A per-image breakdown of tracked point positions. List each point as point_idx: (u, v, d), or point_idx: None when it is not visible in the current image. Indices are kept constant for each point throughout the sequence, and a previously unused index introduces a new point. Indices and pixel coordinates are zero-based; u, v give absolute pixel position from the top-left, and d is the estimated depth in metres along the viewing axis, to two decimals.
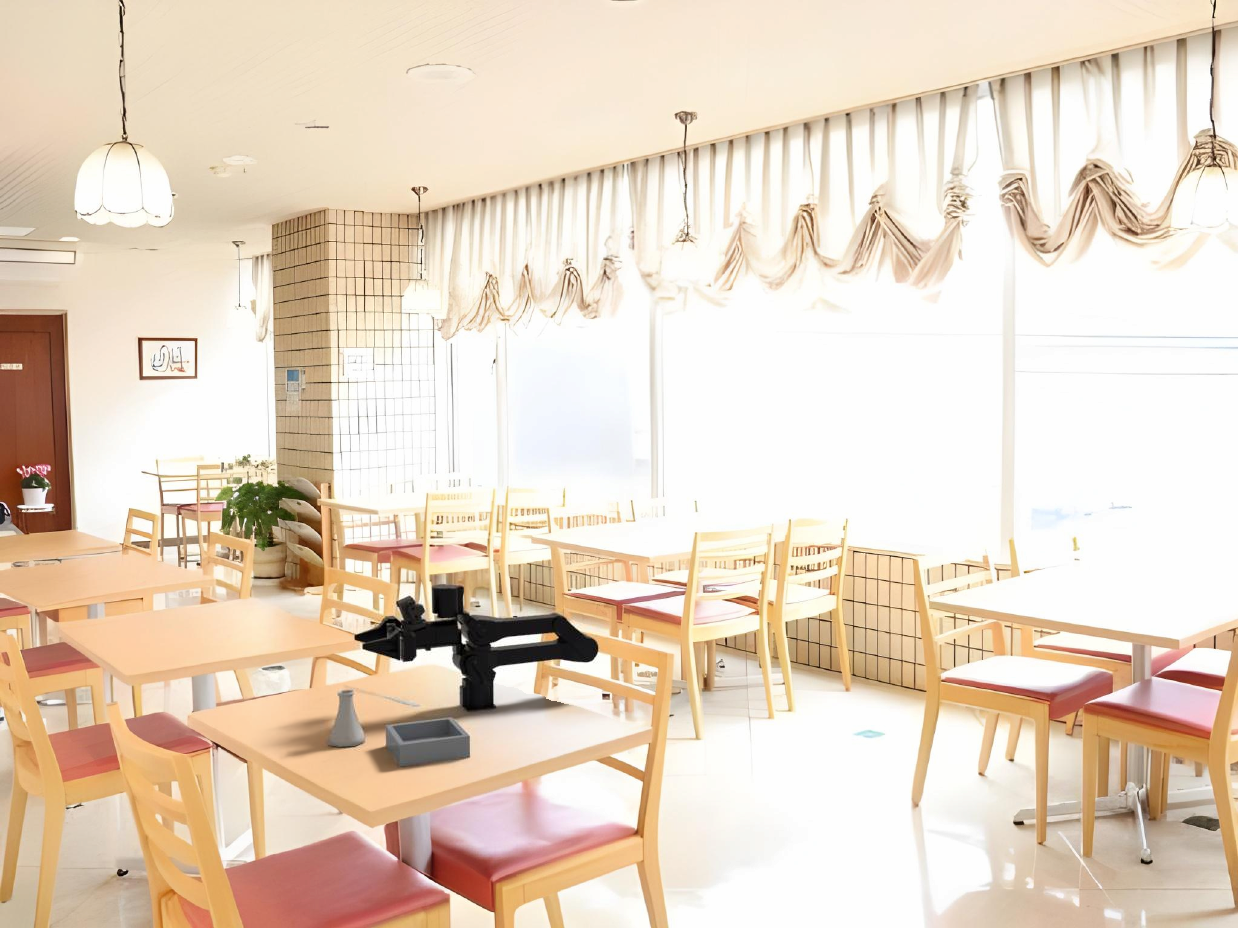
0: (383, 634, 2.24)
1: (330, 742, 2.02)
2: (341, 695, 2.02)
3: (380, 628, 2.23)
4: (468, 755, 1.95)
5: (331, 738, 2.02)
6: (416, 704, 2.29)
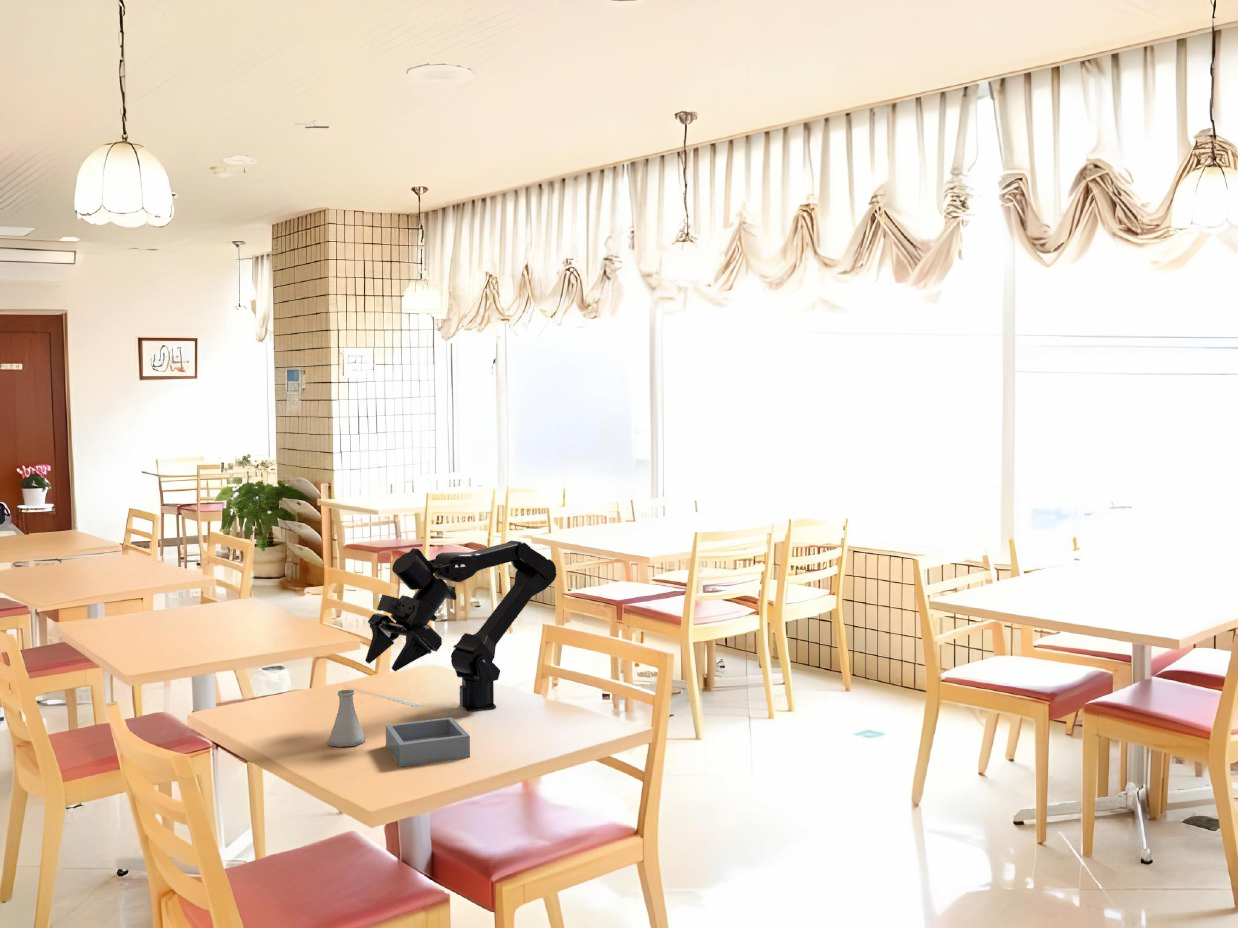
0: (384, 637, 2.16)
1: (330, 742, 2.02)
2: (341, 695, 2.02)
3: (378, 635, 2.14)
4: (468, 755, 1.95)
5: (331, 738, 2.02)
6: (416, 704, 2.29)
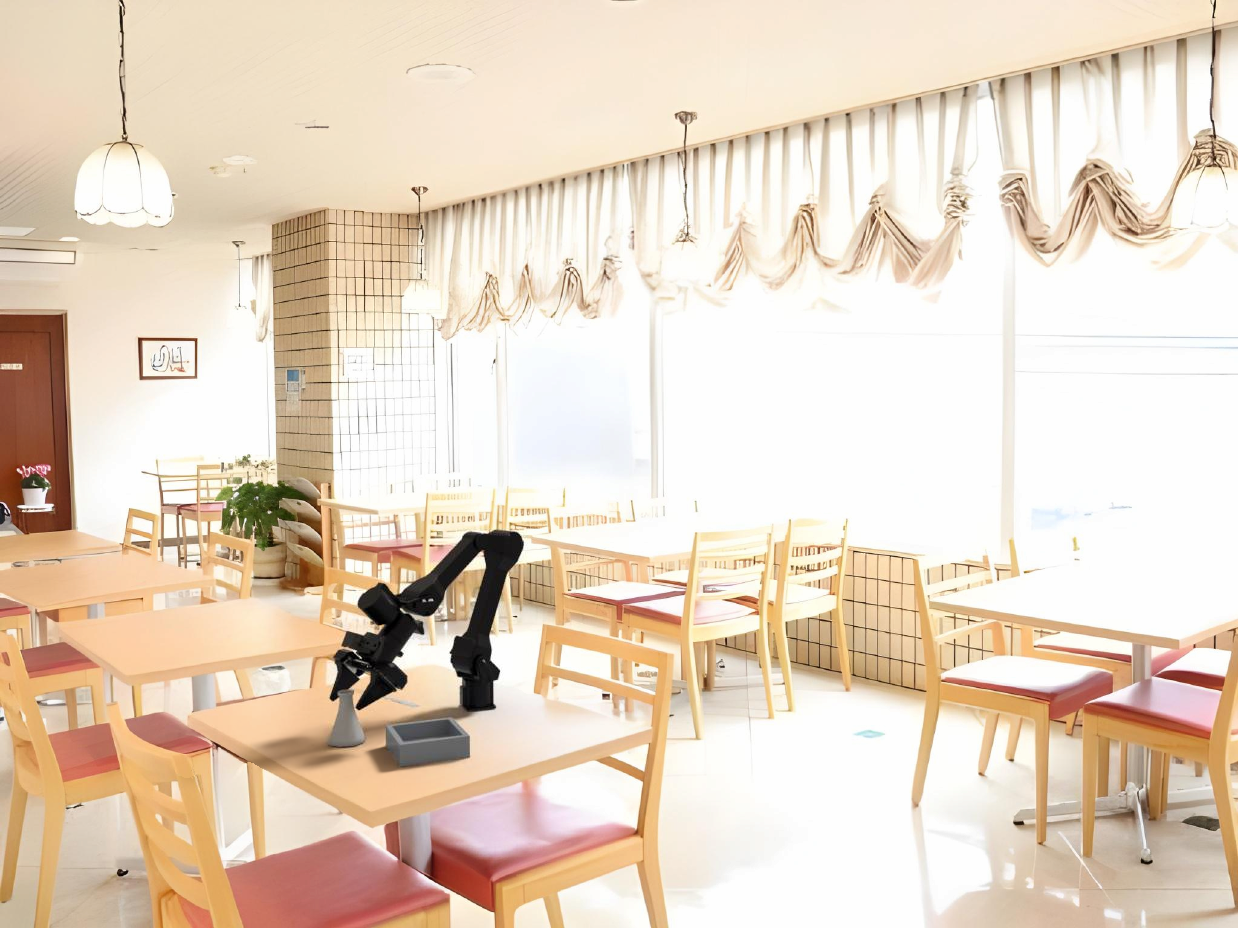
0: (349, 673, 2.10)
1: (330, 742, 2.02)
2: (341, 695, 2.02)
3: (343, 672, 2.09)
4: (468, 755, 1.95)
5: (331, 738, 2.02)
6: (415, 704, 2.29)
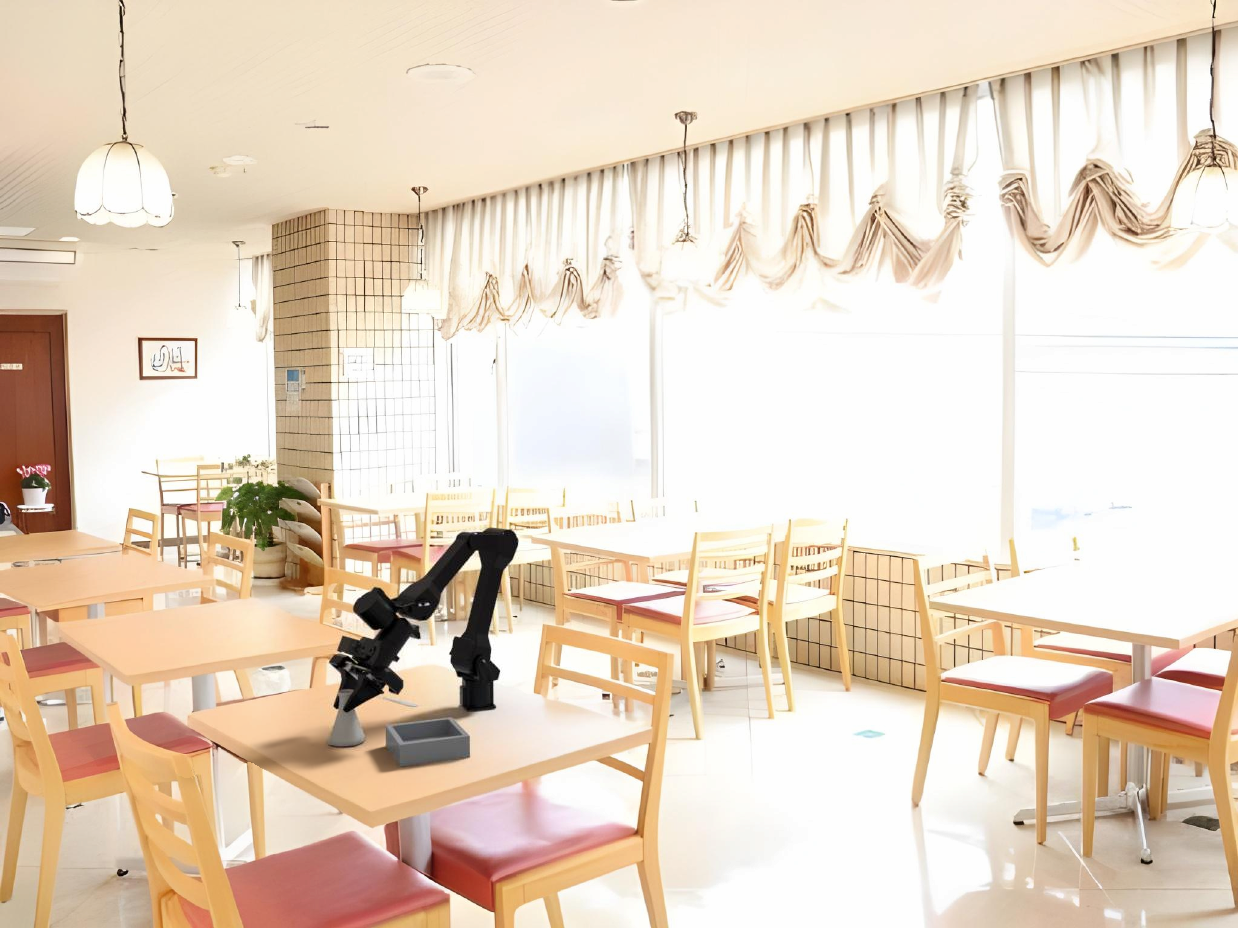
0: (353, 681, 2.07)
1: (330, 742, 2.02)
2: (341, 695, 2.02)
3: (347, 680, 2.06)
4: (468, 755, 1.95)
5: (331, 738, 2.02)
6: (414, 704, 2.29)
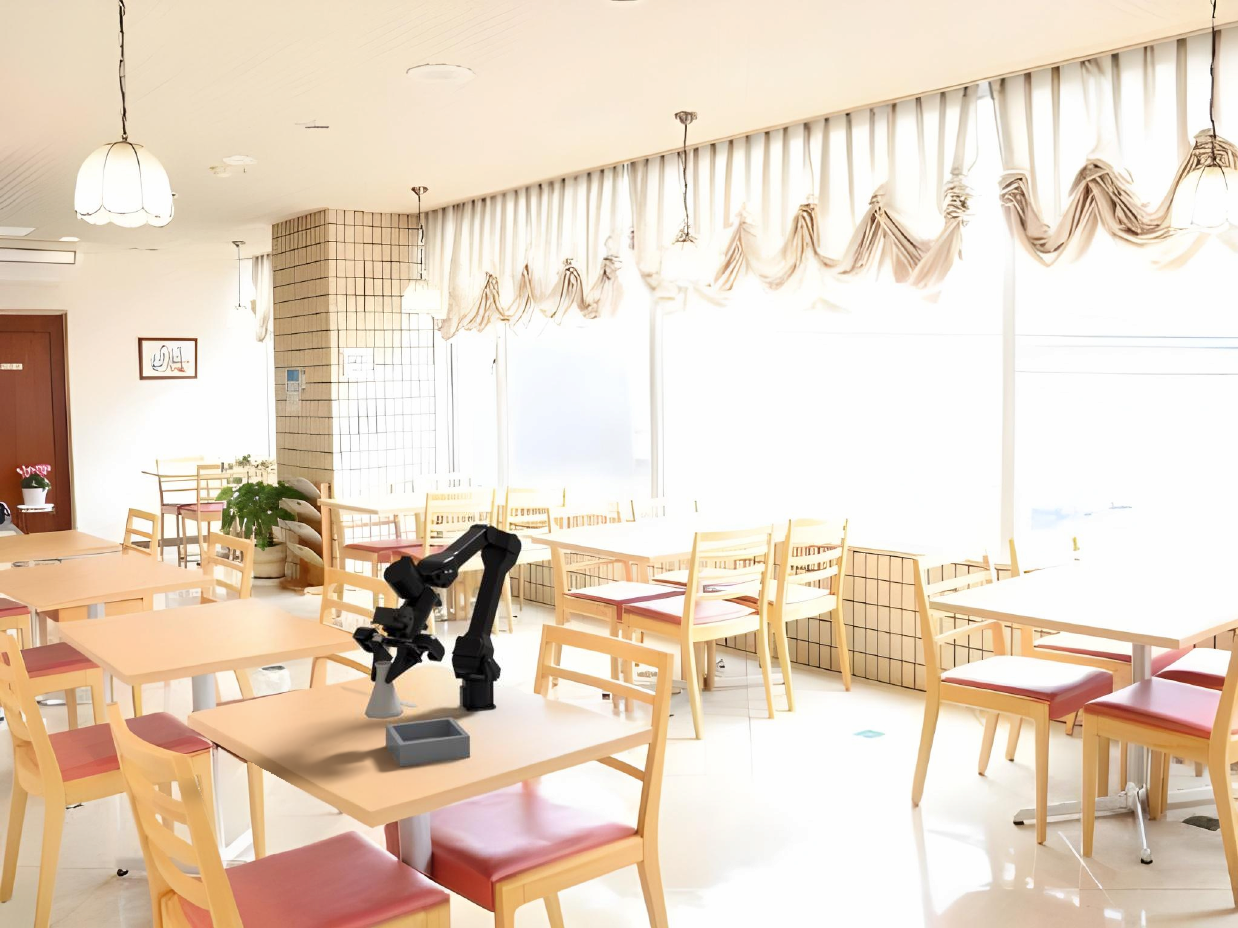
0: (385, 652, 2.03)
1: (371, 715, 1.97)
2: (381, 666, 1.98)
3: (380, 651, 2.01)
4: (468, 755, 1.95)
5: (372, 711, 1.97)
6: (413, 705, 2.29)
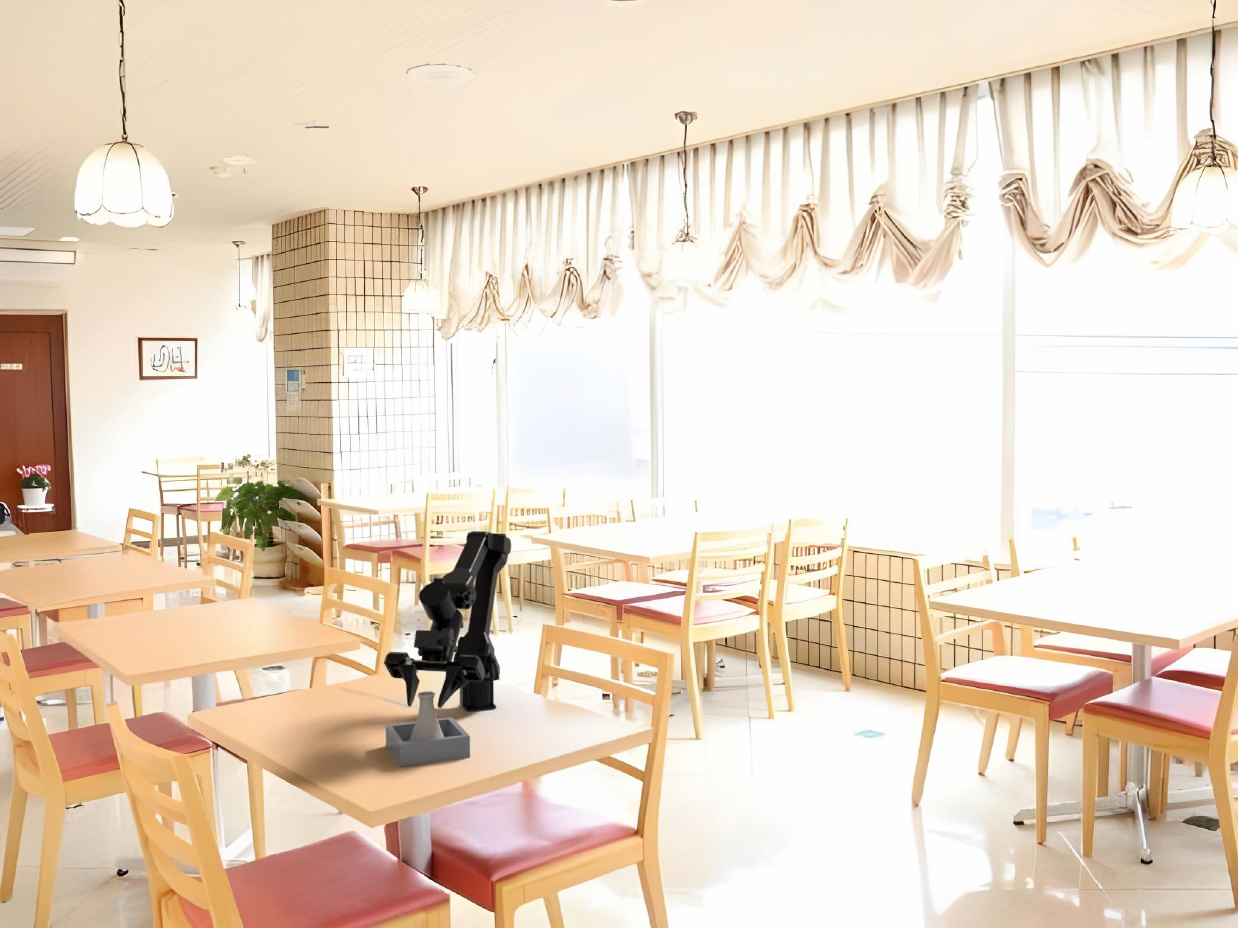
0: (415, 676, 2.01)
1: None
2: (426, 697, 1.96)
3: (412, 675, 2.00)
4: (468, 755, 1.95)
5: None
6: (412, 705, 2.29)
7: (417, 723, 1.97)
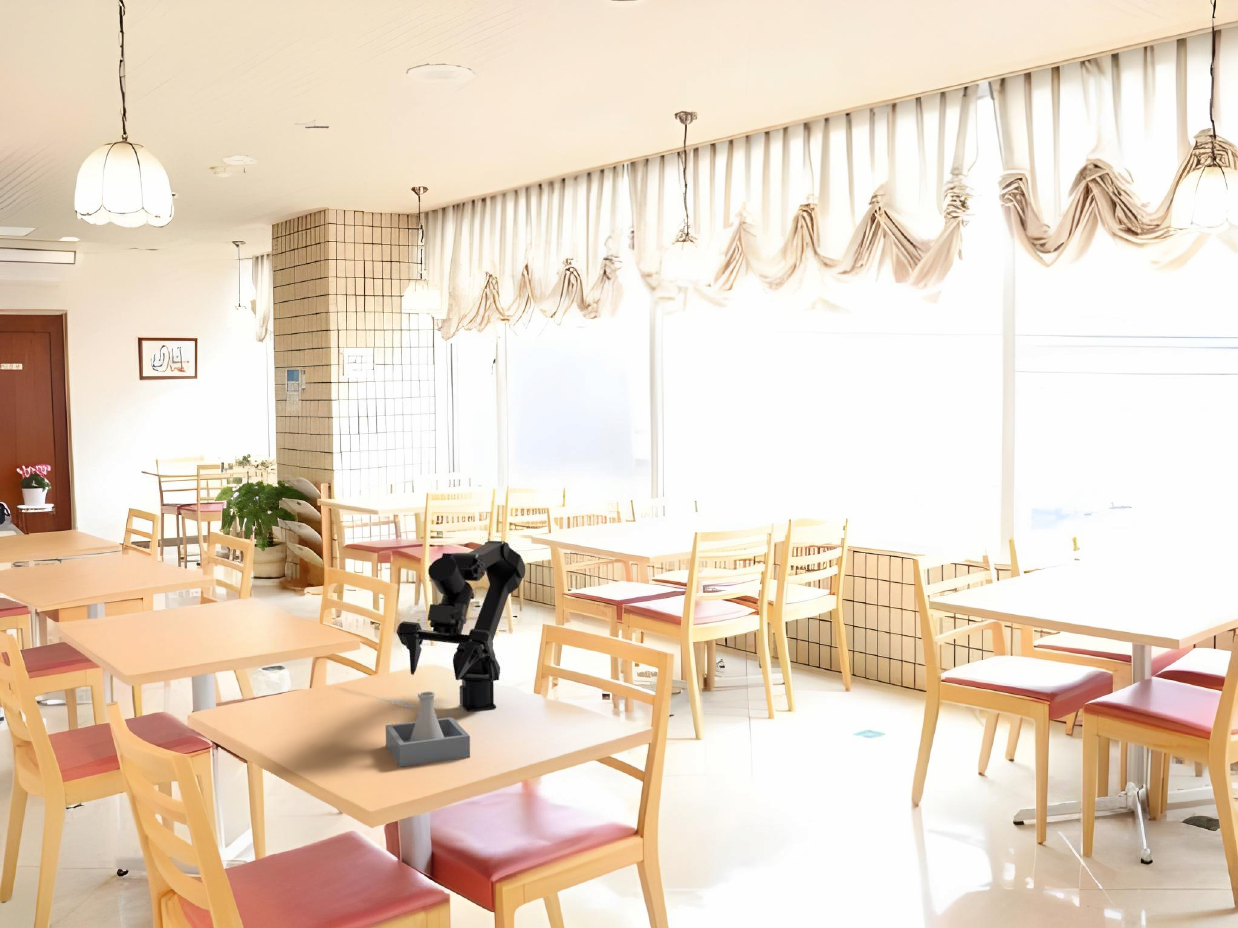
0: (418, 645, 2.09)
1: None
2: (426, 697, 1.96)
3: (416, 645, 2.08)
4: (468, 755, 1.95)
5: None
6: (411, 706, 2.28)
7: (417, 723, 1.97)
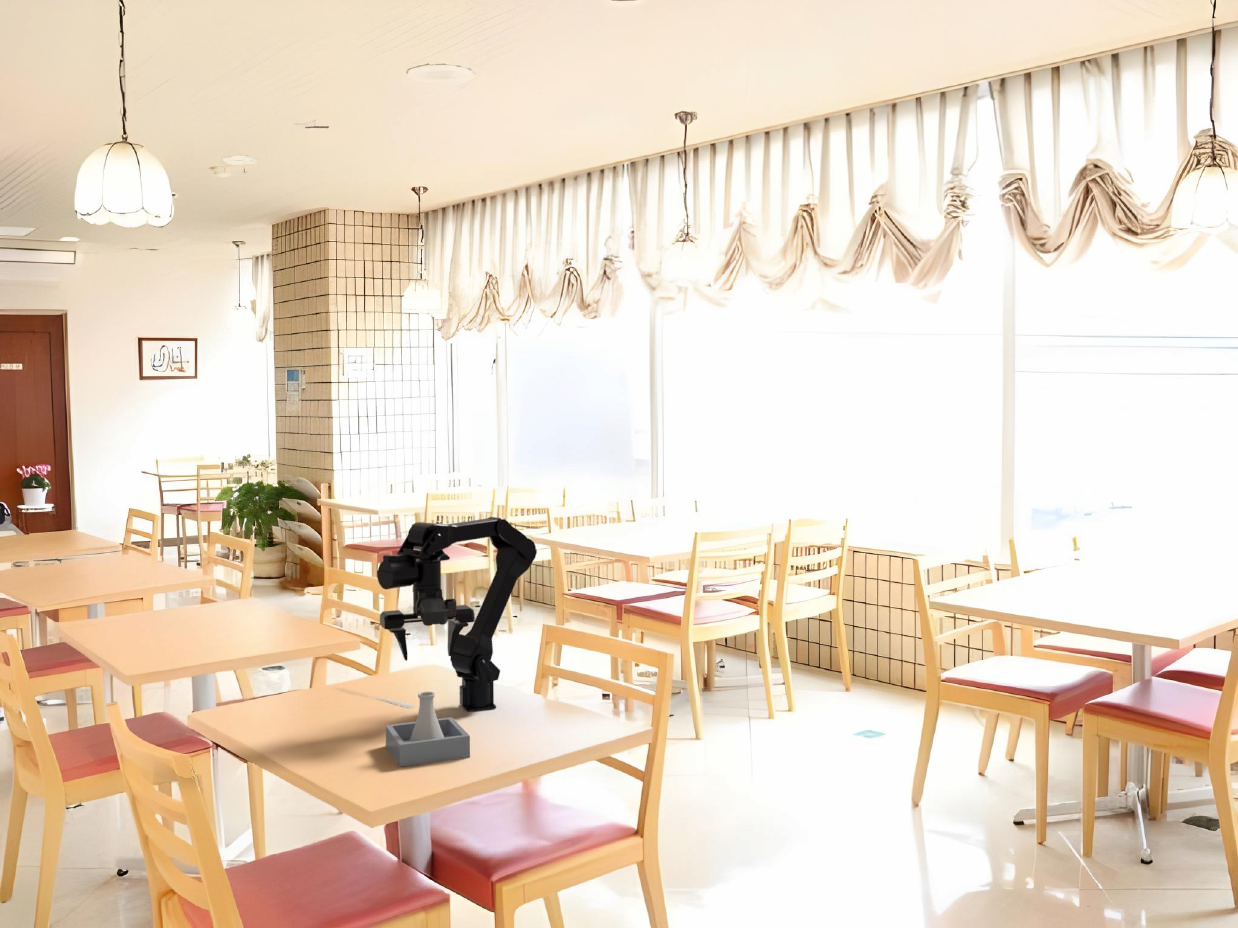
0: None
1: None
2: (426, 697, 1.96)
3: (404, 634, 2.14)
4: (468, 755, 1.95)
5: None
6: (410, 706, 2.28)
7: (417, 723, 1.97)
